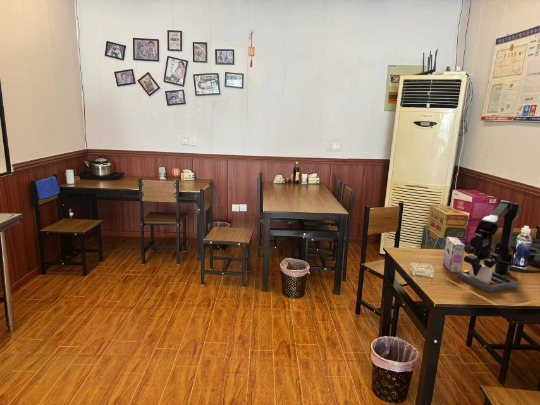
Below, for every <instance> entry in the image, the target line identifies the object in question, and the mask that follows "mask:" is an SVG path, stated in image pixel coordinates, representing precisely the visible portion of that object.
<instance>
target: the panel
mask: <svg viewBox="0 0 540 405" xmlns="http://www.w3.org/2000/svg"><path fill="white" fill-rule="evenodd" d="M480 264H481V265H482V266H481V268H480V270H479V272H478V274H477V276H475V275H474V272H473V268H472V265H471V264H470V268H469V271H470V272H469V275H470V276H472V277H474V278H476V279H478V280H480V281H482V282H484V283H486V284H488V285H490V282H491V276H492V271H493V270H494V268H493V267H492V268H489V267H487V266H485V265H484V264H482V263H480ZM493 272H494V271H493Z"/></svg>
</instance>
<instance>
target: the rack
mask: <svg viewBox="0 0 540 405" xmlns="http://www.w3.org/2000/svg"><path fill="white" fill-rule="evenodd" d="M469 272H470V270H468V269H466V270H465V269H464V270H461V272H458V275H457V279H459V280H461V281H463V282H465V283H467V284H469V285H471V286H473V287H475V288H477V289H479V290H481V291H484V292H485V293H488V294H493V293H498V292H499V293H500V292H503V291H509V290H514V289H518V288H517V287H518V284H519V283H518V281H516V280H513V279H511V278H509V277H506V276H504V275H502V274H500V273H497V272H495V271H492V276H491V282H490V285H488V284H486V283H484V282H482V281H480V280H478V279H476V278H474V277H472V276H470V275H469Z"/></svg>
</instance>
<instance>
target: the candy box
mask: <svg viewBox="0 0 540 405" xmlns="http://www.w3.org/2000/svg"><path fill="white" fill-rule="evenodd" d="M465 247H466V245H465V244H464V243H463V242H462V241H461V240H460V238H458V237H455V236H454V237H453V236H447V237H446V240H445V246H444V255H443V261H442V264H443V265H444V267H445V268H446V269H447V270H448V271H449V272H454V273H459V272H462V266H463V265H462V264H463V261H464V254H465V251H464V250H465Z"/></svg>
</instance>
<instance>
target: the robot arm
mask: <svg viewBox="0 0 540 405" xmlns="http://www.w3.org/2000/svg"><path fill="white" fill-rule="evenodd" d="M522 210H523V207H522V205H521V204H520V203H515V202H512V201H508V200H500V201H499V204H498V205H497V206H496V208H495V209H494V210H493V211H492V212H491V214H490V215H486V216H484V217H483V218H482V219H481V220H480V221H478V224H477V226H476V228H475V230H474V233H475V236H474V237H471V239H470V240H469V243H470V245H469V246H466V245H465V248H464V254H466V255H465V256H463V262H465V263H468V264H470V266H471V265H472V268H473V272H474V275H475V276H477V274H478V272H479V270H480V268H481V266H482V265H485V266H487V267H489V268H492V269H493V267H494V266H495V268H494V272H495V273H497V274H500V275H502V274H503V275H508V274H509V273H510V267H511V266H515V262H516V260H515V256H514V250H513V248H512V245H511V244H512V240H513V233H514V227H515V223H516V222H515V221H516V219H517V218H519V216H520V214H521V213H522V212H523V211H522ZM502 219H503V224H502V230H501V235H500V242H499V245H498V246H497V247H496V248H495V249H494V247H493V243H494V237H495V236H496V234H497V232H498V231H499V229H500V227H499V226H500V225H499V223H500V222H501V221H502ZM493 251H494V252H493ZM482 261H483V263H484V264H482V263H481V262H482ZM481 264H482V265H481Z"/></svg>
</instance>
